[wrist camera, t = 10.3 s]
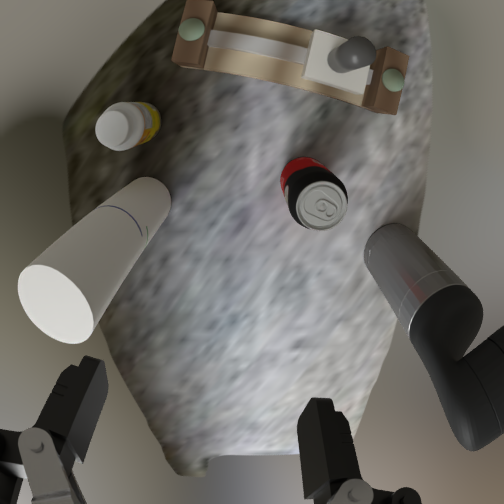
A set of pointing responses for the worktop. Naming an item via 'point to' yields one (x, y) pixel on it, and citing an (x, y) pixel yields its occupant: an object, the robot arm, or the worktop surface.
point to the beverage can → (313, 194)
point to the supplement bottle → (128, 125)
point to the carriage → (338, 61)
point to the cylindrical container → (92, 261)
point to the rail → (268, 63)
